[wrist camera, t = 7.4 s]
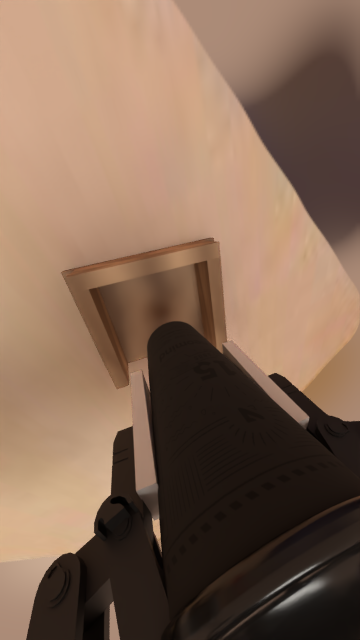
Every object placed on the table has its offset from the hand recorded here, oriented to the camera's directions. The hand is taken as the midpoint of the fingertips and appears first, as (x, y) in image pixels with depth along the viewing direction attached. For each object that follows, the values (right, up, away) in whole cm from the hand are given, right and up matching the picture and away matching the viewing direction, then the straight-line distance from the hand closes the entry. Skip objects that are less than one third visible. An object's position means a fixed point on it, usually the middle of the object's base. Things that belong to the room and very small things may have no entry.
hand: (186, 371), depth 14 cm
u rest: (-4, +6, +12) cm, 14 cm away
